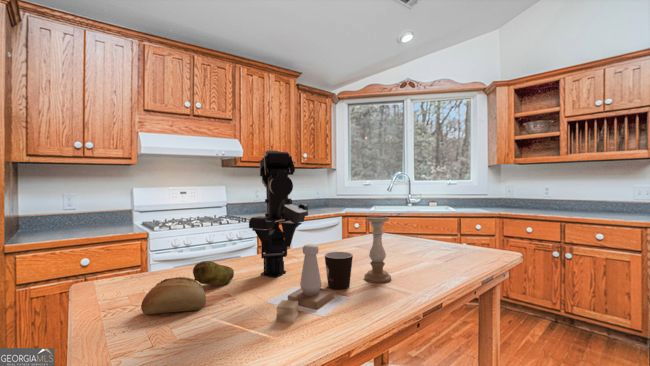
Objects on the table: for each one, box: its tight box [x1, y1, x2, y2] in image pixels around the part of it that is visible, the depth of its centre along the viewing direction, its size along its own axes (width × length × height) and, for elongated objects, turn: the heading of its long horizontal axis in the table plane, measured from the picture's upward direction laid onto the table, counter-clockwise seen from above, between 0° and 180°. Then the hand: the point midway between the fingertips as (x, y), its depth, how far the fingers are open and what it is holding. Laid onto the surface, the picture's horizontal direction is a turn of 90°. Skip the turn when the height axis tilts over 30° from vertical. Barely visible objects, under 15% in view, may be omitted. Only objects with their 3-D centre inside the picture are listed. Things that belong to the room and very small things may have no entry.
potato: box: [192, 260, 235, 287], centre depth 99 cm, size 8×13×8 cm, turn 120°
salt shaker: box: [299, 243, 322, 296], centre depth 84 cm, size 6×6×13 cm
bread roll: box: [140, 276, 207, 315], centre depth 80 cm, size 10×15×8 cm, turn 110°
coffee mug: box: [324, 251, 353, 291], centre depth 97 cm, size 12×9×10 cm
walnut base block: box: [288, 287, 335, 310], centre depth 84 cm, size 9×9×2 cm
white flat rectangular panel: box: [264, 286, 350, 317], centre depth 85 cm, size 18×14×1 cm
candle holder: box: [363, 215, 392, 284], centre depth 103 cm, size 9×9×20 cm
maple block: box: [276, 300, 299, 324], centre depth 73 cm, size 4×4×4 cm
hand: (278, 249), depth 90 cm, fingers open, 9 cm apart
